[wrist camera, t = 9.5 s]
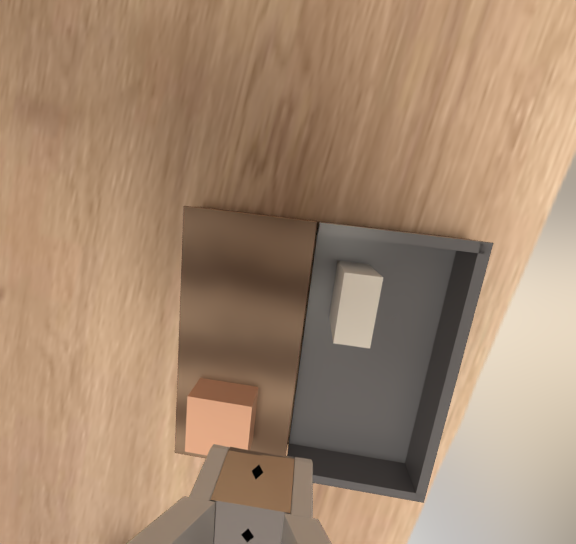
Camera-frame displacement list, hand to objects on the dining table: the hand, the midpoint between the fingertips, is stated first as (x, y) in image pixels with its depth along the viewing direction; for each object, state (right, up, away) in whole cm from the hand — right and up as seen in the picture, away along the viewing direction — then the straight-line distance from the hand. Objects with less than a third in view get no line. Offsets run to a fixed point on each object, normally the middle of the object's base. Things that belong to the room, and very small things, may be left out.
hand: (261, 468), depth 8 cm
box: (+8, -1, +17) cm, 18 cm away
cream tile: (+4, +4, +13) cm, 14 cm away
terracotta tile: (-4, -6, +16) cm, 17 cm away
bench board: (-3, 0, +17) cm, 18 cm away
